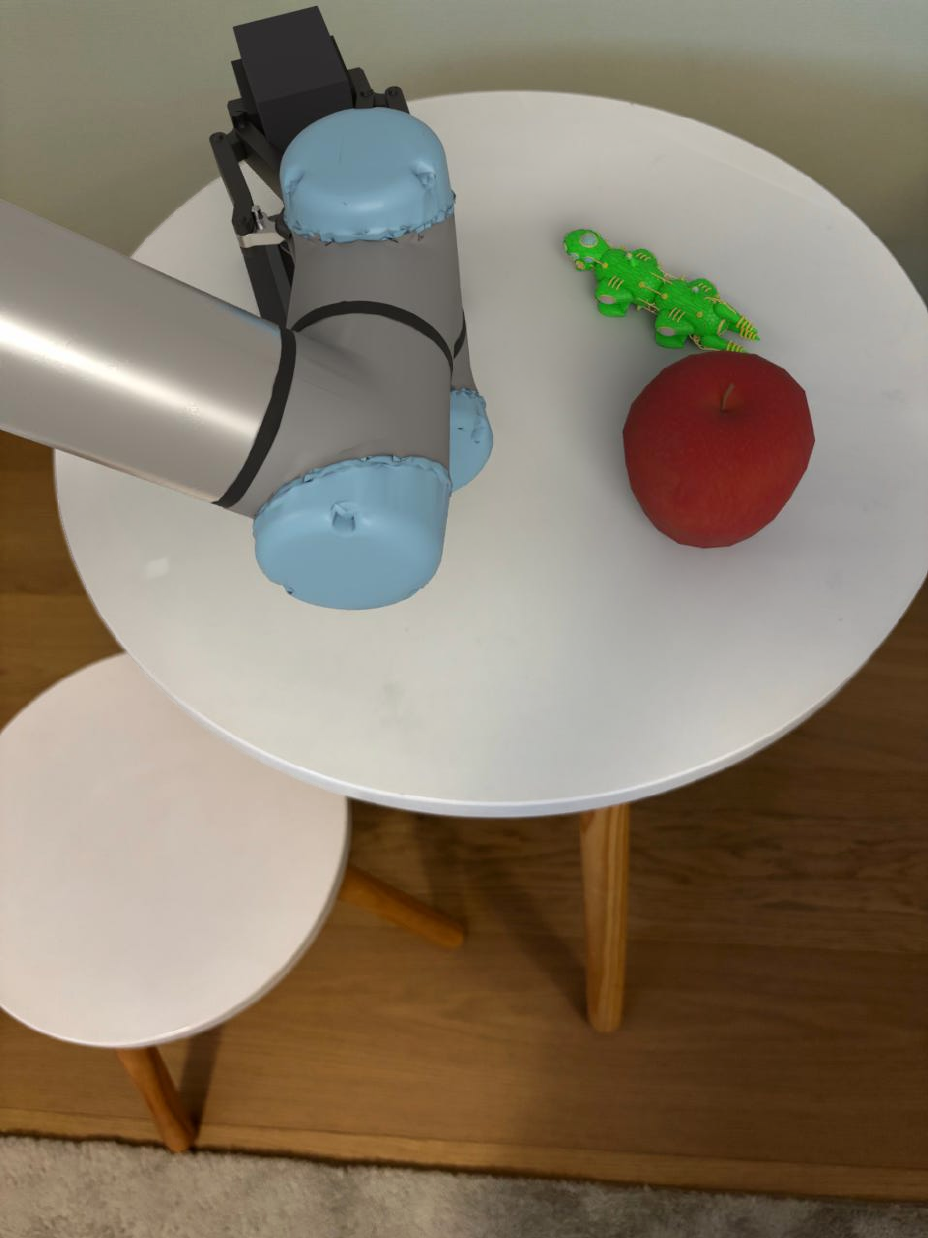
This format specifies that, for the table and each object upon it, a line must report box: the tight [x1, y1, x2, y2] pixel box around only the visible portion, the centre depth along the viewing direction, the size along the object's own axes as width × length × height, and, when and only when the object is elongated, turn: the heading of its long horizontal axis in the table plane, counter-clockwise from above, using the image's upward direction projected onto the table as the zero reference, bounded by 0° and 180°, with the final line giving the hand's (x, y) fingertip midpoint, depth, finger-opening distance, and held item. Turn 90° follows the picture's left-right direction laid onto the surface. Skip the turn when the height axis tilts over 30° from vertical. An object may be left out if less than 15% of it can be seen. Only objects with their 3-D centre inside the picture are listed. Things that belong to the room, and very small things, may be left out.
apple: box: [621, 350, 816, 549], centre depth 67 cm, size 12×12×13 cm
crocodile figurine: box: [561, 228, 761, 353], centre depth 81 cm, size 7×18×4 cm, turn 49°
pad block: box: [232, 5, 354, 207], centre depth 72 cm, size 6×9×10 cm, turn 17°
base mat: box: [242, 212, 295, 328], centre depth 85 cm, size 14×14×4 cm
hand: (286, 66), depth 74 cm, fingers closed on pad block, 6 cm apart
